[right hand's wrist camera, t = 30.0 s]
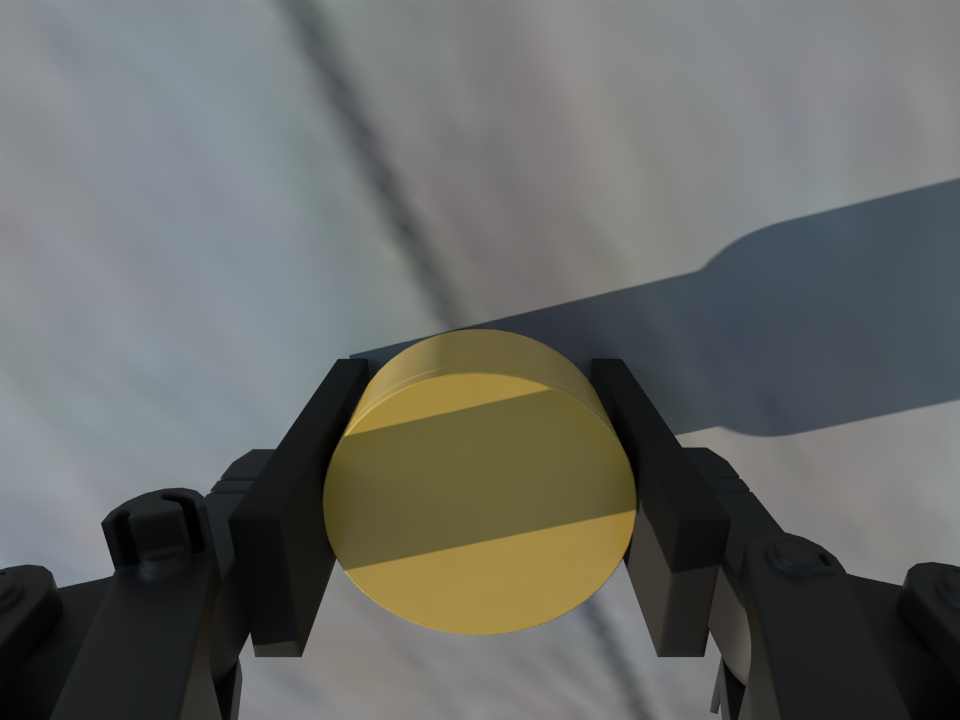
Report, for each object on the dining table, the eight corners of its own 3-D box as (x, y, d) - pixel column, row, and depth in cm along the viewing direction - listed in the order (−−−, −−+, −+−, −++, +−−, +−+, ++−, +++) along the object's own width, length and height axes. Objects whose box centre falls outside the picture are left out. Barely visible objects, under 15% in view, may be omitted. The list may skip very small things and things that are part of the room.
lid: (335, 529, 13) (304, 609, 11) (371, 300, 11) (343, 339, 9) (567, 572, 14) (585, 656, 11) (644, 360, 12) (684, 410, 9)
